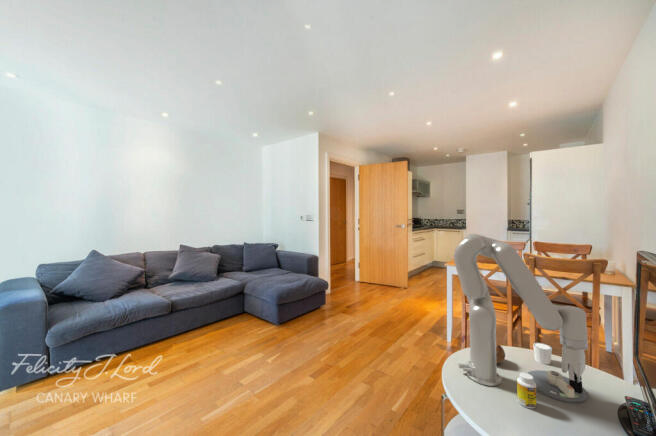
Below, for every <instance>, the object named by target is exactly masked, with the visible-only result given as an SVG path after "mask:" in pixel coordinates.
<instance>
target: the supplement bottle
mask: <svg viewBox="0 0 656 436" xmlns="http://www.w3.org/2000/svg"><path fill="white" fill-rule="evenodd" d="M527 373H528V372H527ZM527 373H526V372H520V373H519V377H517V379H516V392H517V394H516V395H517V396H516V399H517V403H518V404H520V405H521V406H523V407H524V408H527V409H536V407H537V390H536V383H535V382H534V380H533V376H531V375H530V374H527Z"/></svg>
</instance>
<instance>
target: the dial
mask: <svg viewBox="0 0 656 436" xmlns="http://www.w3.org/2000/svg"><path fill="white" fill-rule="evenodd" d="M547 371H548V370H547ZM547 371H546V370H541V369H540V370H539V369H538V370H530V371H529V372H527V374H530V375H531V376H533V380H534V382H535V383H536V392H538V393H540V394H542V395H544V396H546V397H548V398H551V399H553V400H556V401H560V402H565V403H571V404H582V403H584V402H586V401H587V400H588V392H587V390H586V389H585V387H583V386H582V390H583V392H582V394H579V393H577V392H574V398H571V397H568V396H567V395H566V394H565V393H563V392H562V391H561V390H560V389H559V388H558V387H556V386H553V385H551V384H549V383H548V382H547ZM563 380H564V381H565V382H566V383H567V384H568V385H570V384H569V377H566V376H565V375H563Z"/></svg>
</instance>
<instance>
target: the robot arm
mask: <svg viewBox="0 0 656 436" xmlns="http://www.w3.org/2000/svg"><path fill="white" fill-rule="evenodd" d="M479 255H481V256H484V257H486V258H488V259H489V258H491V259H493V260H494V261H495V262H496V264H497V266H498V267H499V268H500V270H501V272H502V273H503V275H504V277H505V278H506V279H507V281H508V282H509V284H510V285H511V286H512V289H514V291H515V293H516V294H517V295H518V296H519V297H520V299H521V300H522V301H523V303H524V304H525V306H526V307H527V308H528V310H529V311H530V314H531V315H532V316H533V318H534V319H535V321H536V323H538V325H539V326H540V327H541V328H543V329H545V330H547V331H552V332H553V331H554V332H555V331H559V344H560V345H562V348H561V372H562V373H565V374H566V373H567V372H568V378H569V384H570V386H571V387H573V389H574V392H577V393H579V394H582V392H583V390H582V387H583V381H582V380H583V376H582V375H583V374H584V372H585V370H586V354H585V353H586V350H587V351H588V349H589V343H588V328H587V325H588V324H587V313H586V311H585V310H584V309H582V308H581V307H577V306H573V305H558V304H555V303H552V301H551V299H550V298H549V296H548V295H547V294H546V293H545V291H544V290H543V288H542V286H541V285H540V283H539V281H538V280H537V278H536V277H535V275H534V274H533V272H532V271H531V270H530V268H529V267H528V266H527V264H526V263H525V261H524V260H523V258H522V257H521V255H520V254H519V253H518V251H517V250H516V248H515V247H513V245H512V244H510V243H508V242H505V241H501V240H497V239H494V238H491V237H488V236H484V235H481V234H477V233H470V234H468V235H466V236H465V237H464V238H463V240H461V241H460V243H459V244H458V245H457V246H456V248H455V250H454V253H453V262H454V265H455V266H454V267H455V268H456V272H457V276H458V279H459V281H460V285H461V290H462V292H463V294H464V295H465V296H466V299H467V301H468V302H467V303H468V304H469V305H468V306H469V313H468V317H469V319H468V321H469V322H468V323H469V352H470V353H469V355H470V360H469V361H468V362H466V363H459V362H458V364H457V365H458V368H459V369H462V372H466V375H467V376H468V377H469V379H471V380H472V381H473V382H475V383H477V384H480V385H484V386H489V387H495V386H499V385H501V383H502V378H501V374H499V373H498V372H497V364H496V343H497V315H496V310H495V309H496V308H495V306H494V303H493V300H492V297H491V294H490V291H489V289H488V288H489V287H488V285H487V282H486V280H485V279H484V277H483V276H482V274H481V271H480V269H479V266H478V263H477V257H478V256H479Z"/></svg>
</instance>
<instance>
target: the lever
mask: <svg viewBox="0 0 656 436" xmlns="http://www.w3.org/2000/svg"><path fill="white" fill-rule="evenodd" d="M563 376H564V375H562V374H561V373H560V372H558V371H555V370H547V382H548V383H549V384H551V385H553V386H556V387H558V388H559V389H560V390H561V391H562V392H563V393H565V394H566V395H567V396H568V397H571V398H574V389H573V387H571V386H570V385H568V384H567V383H566V382H565V381H564V380H563Z"/></svg>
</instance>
